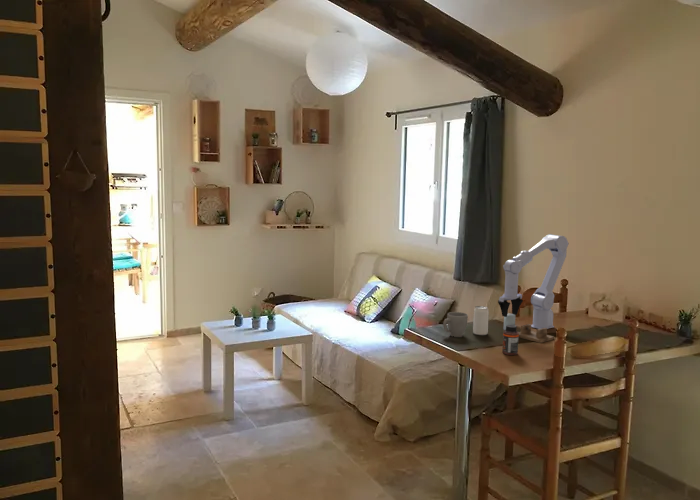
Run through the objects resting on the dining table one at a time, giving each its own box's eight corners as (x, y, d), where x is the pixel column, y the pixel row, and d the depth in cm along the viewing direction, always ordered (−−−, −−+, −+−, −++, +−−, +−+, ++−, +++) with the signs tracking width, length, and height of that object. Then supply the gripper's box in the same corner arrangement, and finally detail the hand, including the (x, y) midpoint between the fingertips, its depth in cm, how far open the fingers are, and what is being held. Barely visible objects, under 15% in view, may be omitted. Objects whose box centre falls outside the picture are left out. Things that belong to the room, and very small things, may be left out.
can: (487, 335, 266) (489, 309, 265) (472, 334, 268) (474, 308, 266) (487, 332, 273) (488, 306, 271) (472, 331, 274) (474, 305, 272)
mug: (457, 332, 272) (458, 311, 271) (471, 336, 264) (472, 315, 263) (436, 335, 266) (437, 313, 265) (449, 340, 258) (450, 317, 257)
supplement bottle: (500, 351, 243) (501, 323, 241) (514, 351, 243) (516, 323, 242) (505, 355, 237) (506, 327, 235) (519, 355, 237) (521, 327, 236)
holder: (526, 332, 273) (526, 322, 273) (553, 339, 263) (554, 328, 262) (512, 335, 267) (513, 325, 267) (540, 342, 256) (541, 332, 256)
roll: (507, 327, 282) (508, 313, 281) (516, 329, 278) (517, 315, 277) (501, 329, 279) (502, 314, 278) (510, 331, 275) (511, 316, 274)
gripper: (513, 283, 284) (512, 311, 285) (494, 286, 274) (492, 315, 276) (526, 285, 278) (524, 314, 280) (507, 288, 269) (505, 318, 271)
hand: (509, 315), depth 278 cm, fingers open, 7 cm apart
